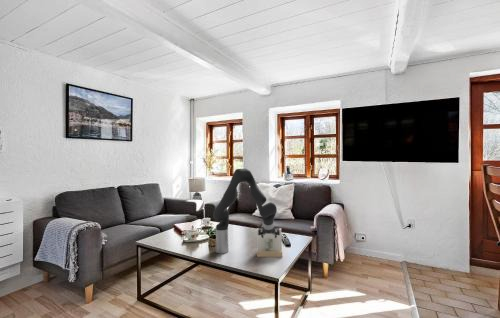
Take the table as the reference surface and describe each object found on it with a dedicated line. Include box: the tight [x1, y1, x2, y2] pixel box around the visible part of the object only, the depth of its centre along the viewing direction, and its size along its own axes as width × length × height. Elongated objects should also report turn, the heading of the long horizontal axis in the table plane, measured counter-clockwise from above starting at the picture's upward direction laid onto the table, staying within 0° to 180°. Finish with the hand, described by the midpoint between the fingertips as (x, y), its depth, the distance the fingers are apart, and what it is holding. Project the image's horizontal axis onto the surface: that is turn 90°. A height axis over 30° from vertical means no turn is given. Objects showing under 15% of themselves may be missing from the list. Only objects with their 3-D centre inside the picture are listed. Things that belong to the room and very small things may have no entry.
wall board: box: [256, 228, 283, 258], centre depth 183 cm, size 18×8×18 cm, turn 85°
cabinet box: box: [266, 239, 273, 251], centre depth 183 cm, size 5×3×11 cm, turn 86°
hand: (269, 236), depth 173 cm, fingers open, 8 cm apart
